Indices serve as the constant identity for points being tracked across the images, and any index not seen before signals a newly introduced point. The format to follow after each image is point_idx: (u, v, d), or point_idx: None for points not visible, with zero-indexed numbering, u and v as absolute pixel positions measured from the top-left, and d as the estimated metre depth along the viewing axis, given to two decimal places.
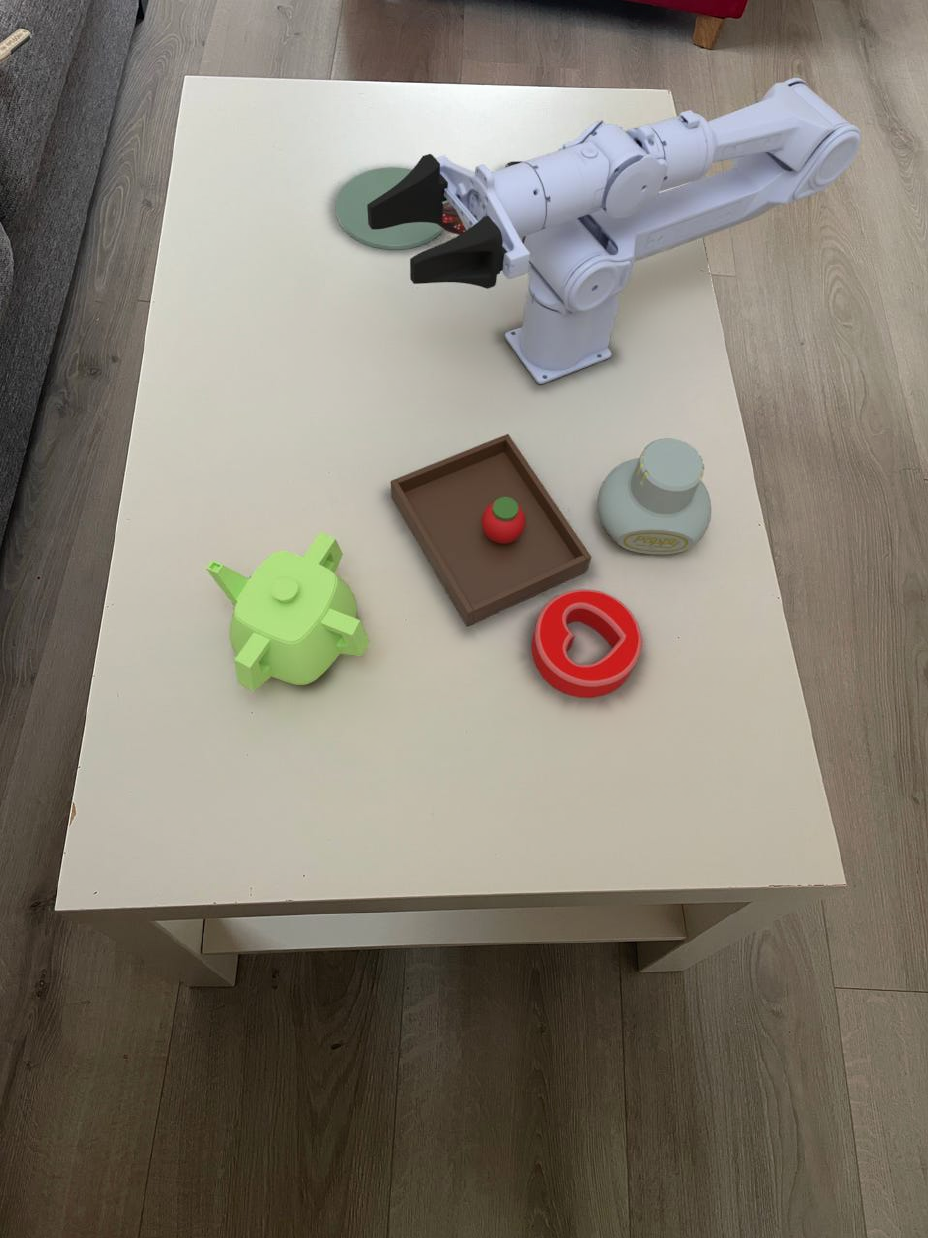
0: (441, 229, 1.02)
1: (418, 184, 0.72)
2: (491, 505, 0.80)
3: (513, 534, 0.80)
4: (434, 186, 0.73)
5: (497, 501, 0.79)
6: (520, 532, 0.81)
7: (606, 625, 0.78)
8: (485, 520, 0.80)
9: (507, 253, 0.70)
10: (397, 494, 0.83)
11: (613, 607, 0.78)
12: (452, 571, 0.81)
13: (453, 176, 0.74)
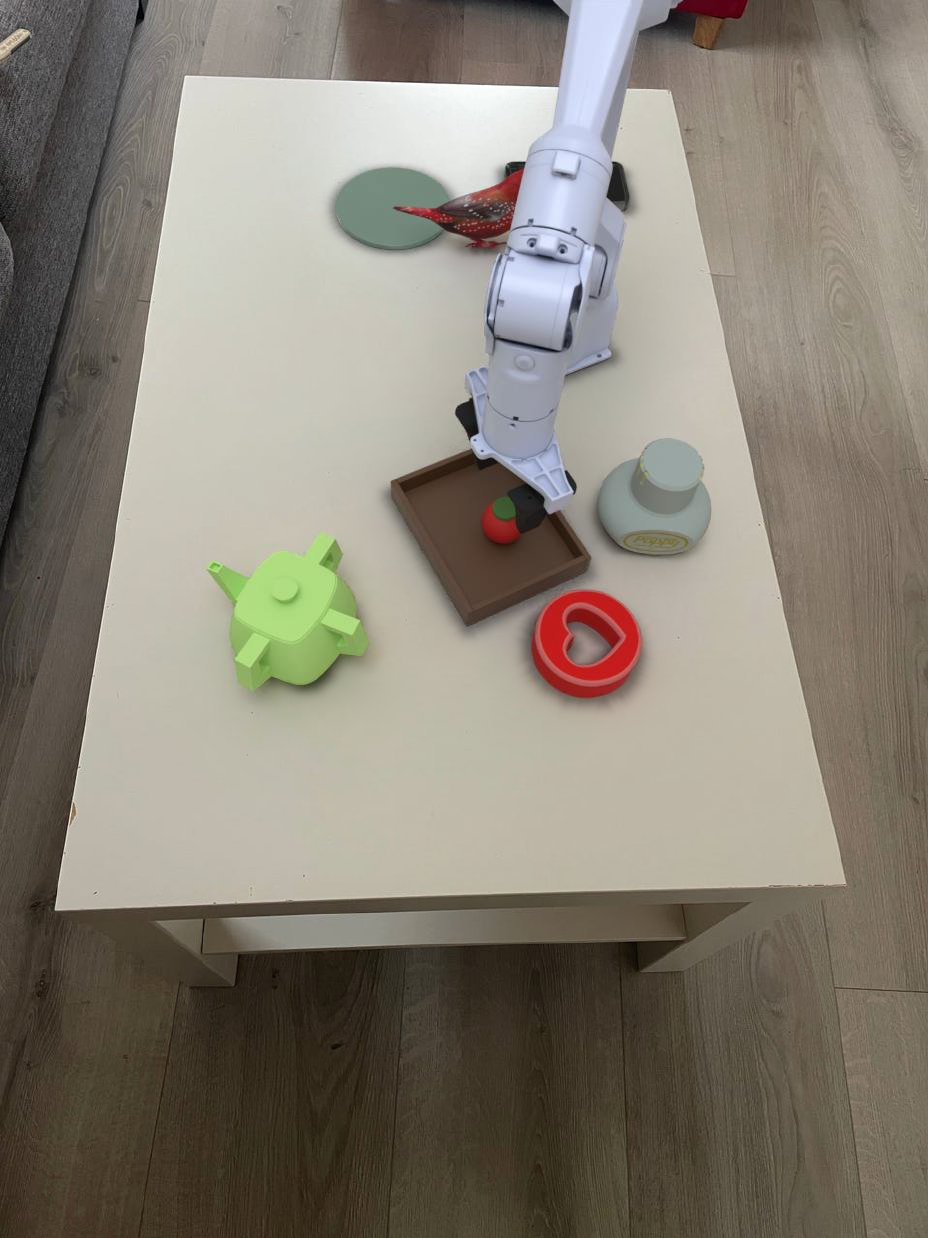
0: (441, 229, 1.02)
1: None
2: (491, 505, 0.80)
3: (513, 534, 0.80)
4: None
5: (497, 501, 0.79)
6: None
7: (606, 625, 0.78)
8: (485, 520, 0.80)
9: (544, 505, 0.68)
10: (397, 494, 0.83)
11: (613, 607, 0.78)
12: (452, 571, 0.81)
13: None
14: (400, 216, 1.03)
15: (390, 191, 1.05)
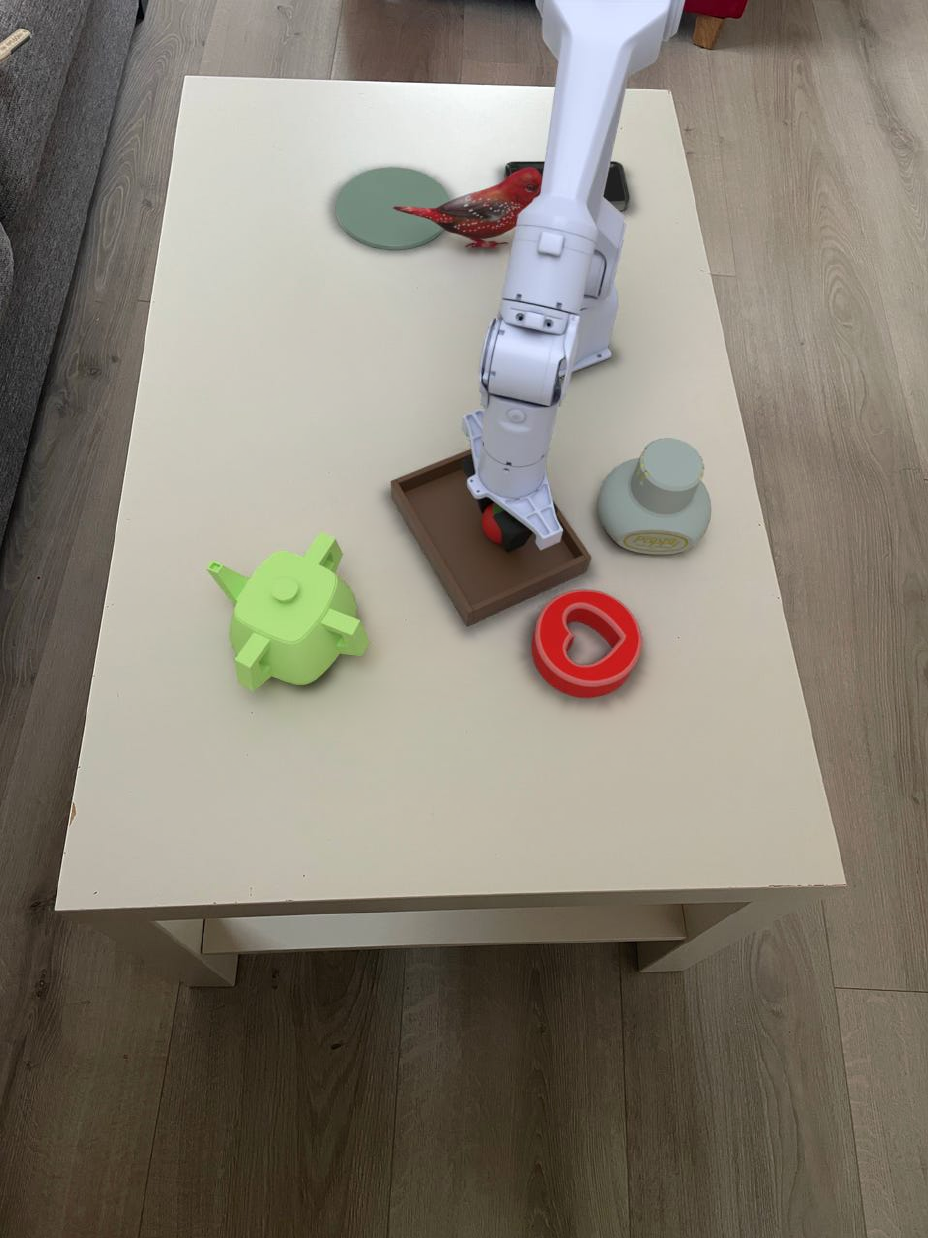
0: (441, 229, 1.02)
1: None
2: (491, 505, 0.80)
3: None
4: None
5: None
6: None
7: (606, 625, 0.78)
8: (485, 520, 0.80)
9: (536, 542, 0.73)
10: (397, 494, 0.83)
11: (613, 607, 0.78)
12: (452, 571, 0.81)
13: None
14: (400, 216, 1.03)
15: (390, 191, 1.05)
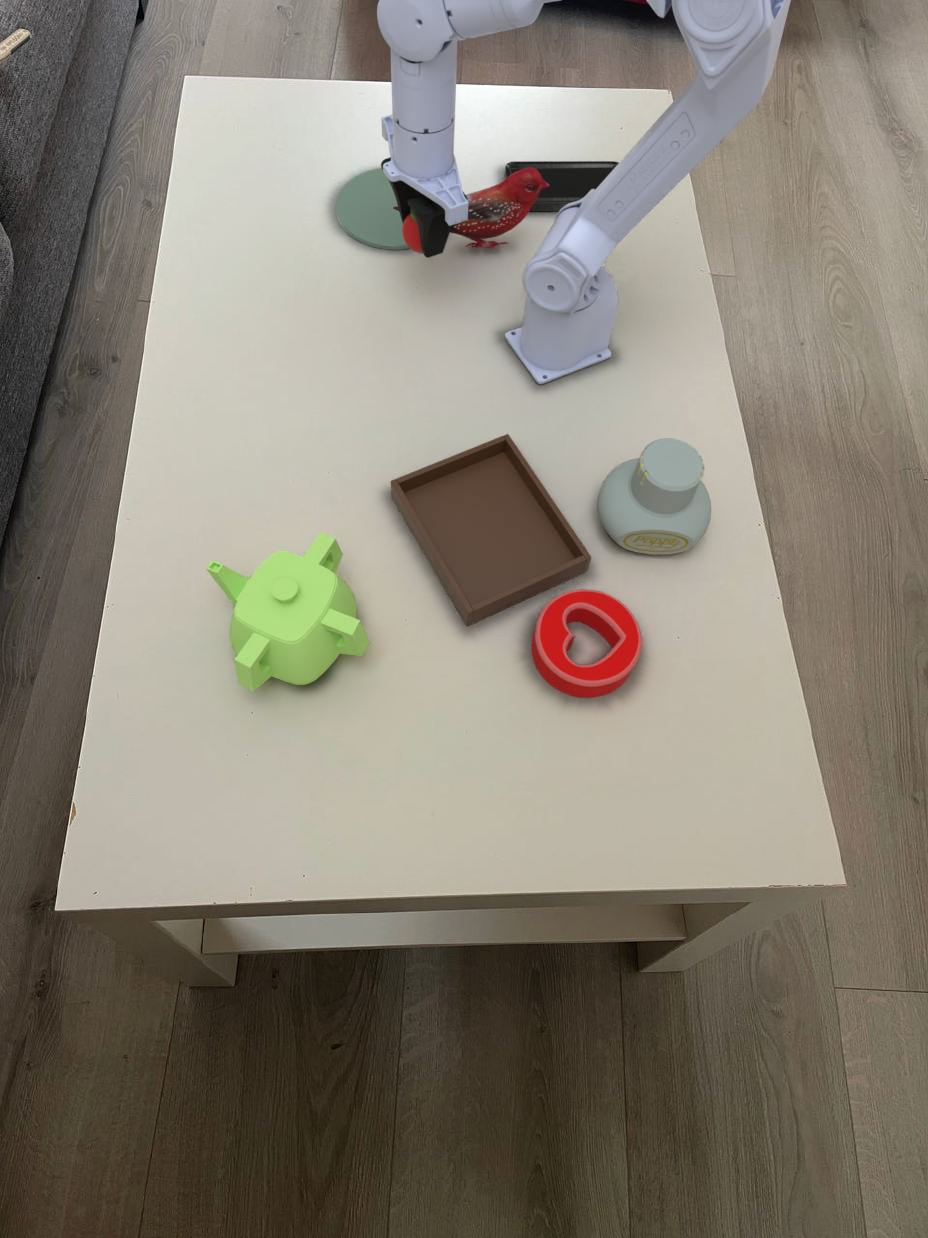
0: None
1: (399, 192, 0.86)
2: (410, 213, 0.88)
3: None
4: None
5: None
6: None
7: (606, 625, 0.78)
8: (405, 226, 0.88)
9: (445, 219, 0.81)
10: (397, 494, 0.83)
11: (613, 607, 0.78)
12: (452, 571, 0.81)
13: None
14: (400, 216, 1.03)
15: (390, 191, 1.05)
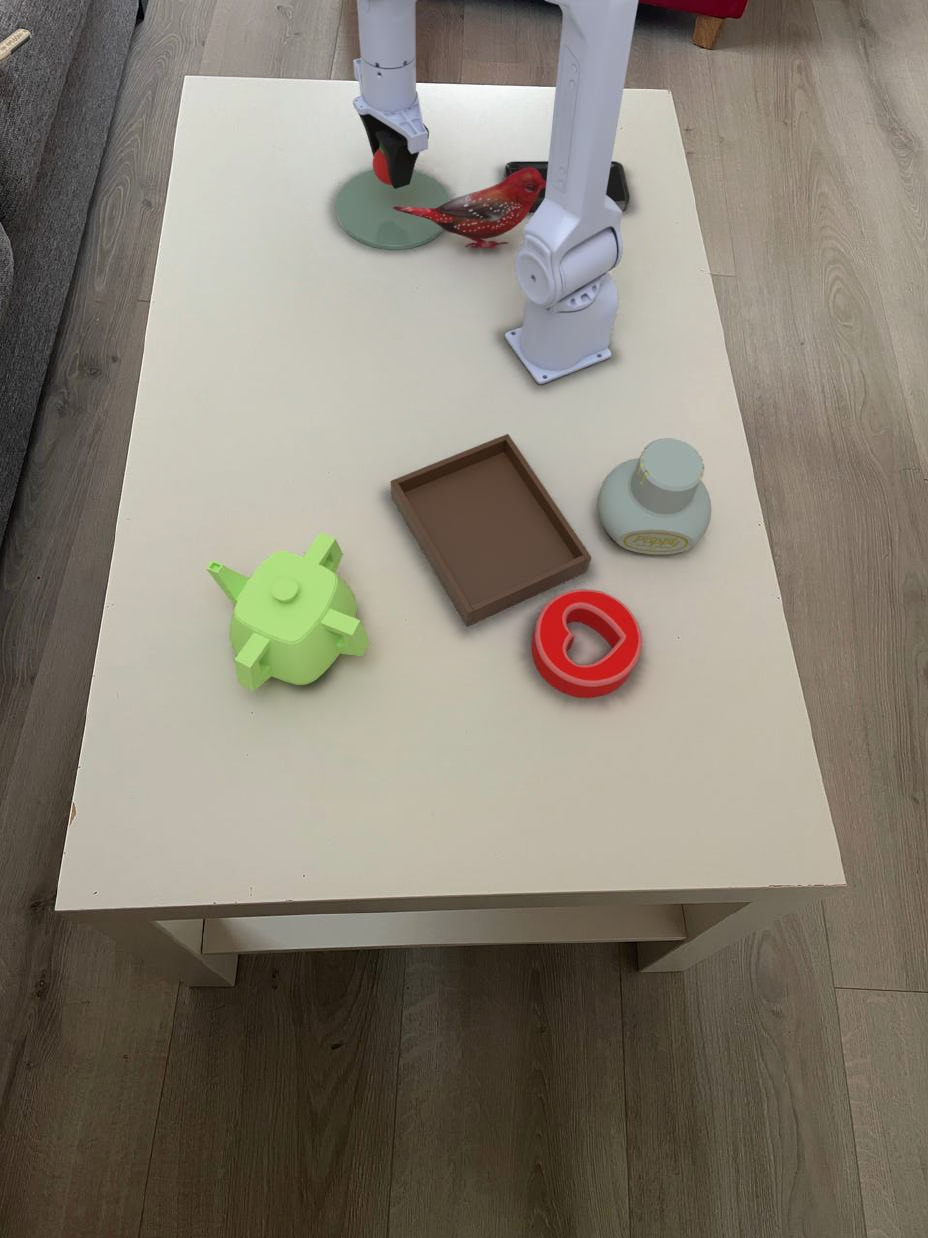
0: (441, 229, 1.02)
1: (370, 128, 0.96)
2: None
3: None
4: None
5: None
6: None
7: (606, 625, 0.78)
8: (374, 159, 0.98)
9: (408, 147, 0.91)
10: (397, 494, 0.83)
11: (613, 607, 0.78)
12: (452, 571, 0.81)
13: None
14: (400, 216, 1.03)
15: (390, 191, 1.05)
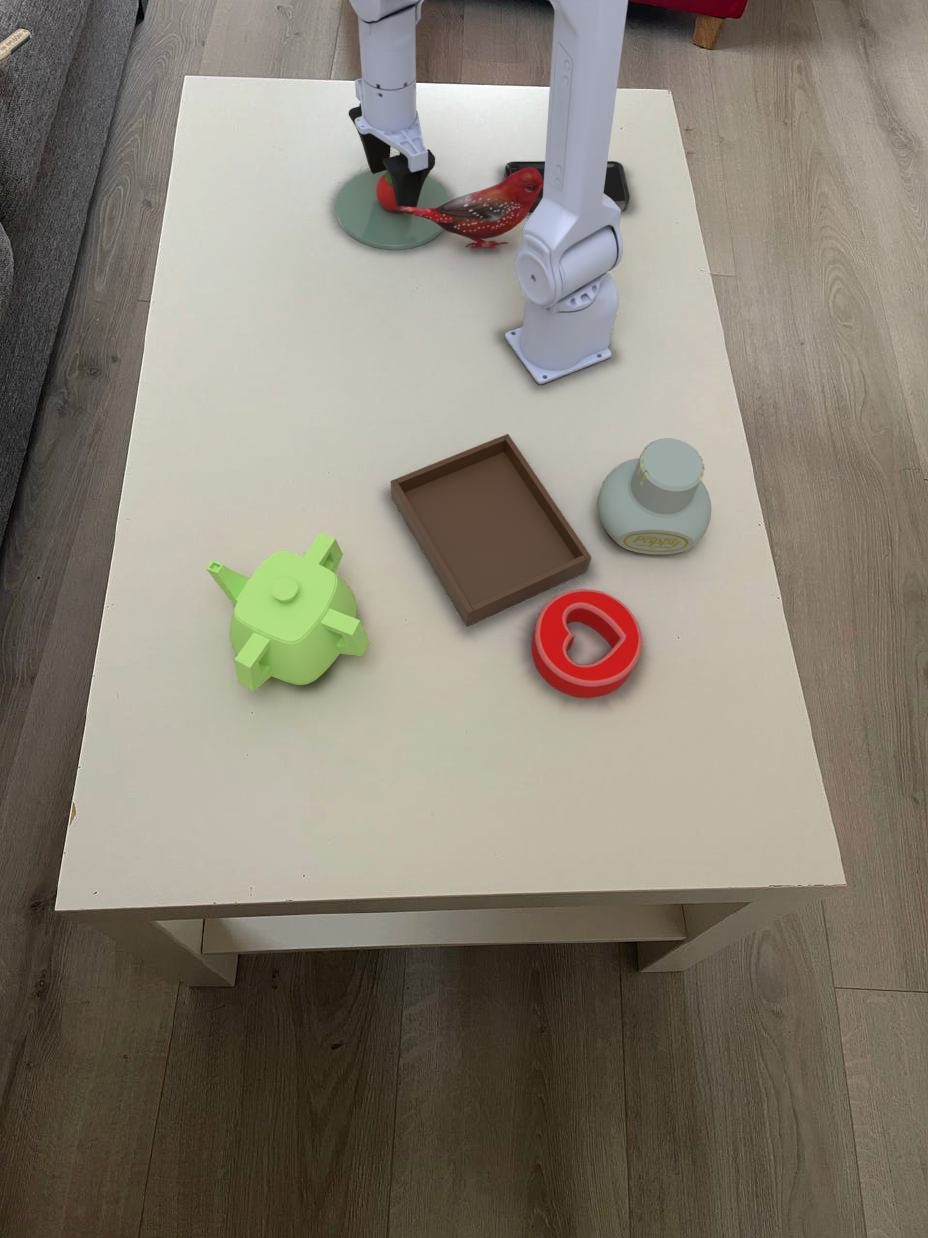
0: (441, 229, 1.02)
1: (365, 138, 0.99)
2: (384, 174, 1.00)
3: None
4: None
5: None
6: None
7: (606, 625, 0.78)
8: (379, 186, 1.00)
9: (408, 166, 0.92)
10: (397, 494, 0.83)
11: (613, 607, 0.78)
12: (452, 571, 0.81)
13: None
14: (400, 216, 1.03)
15: None
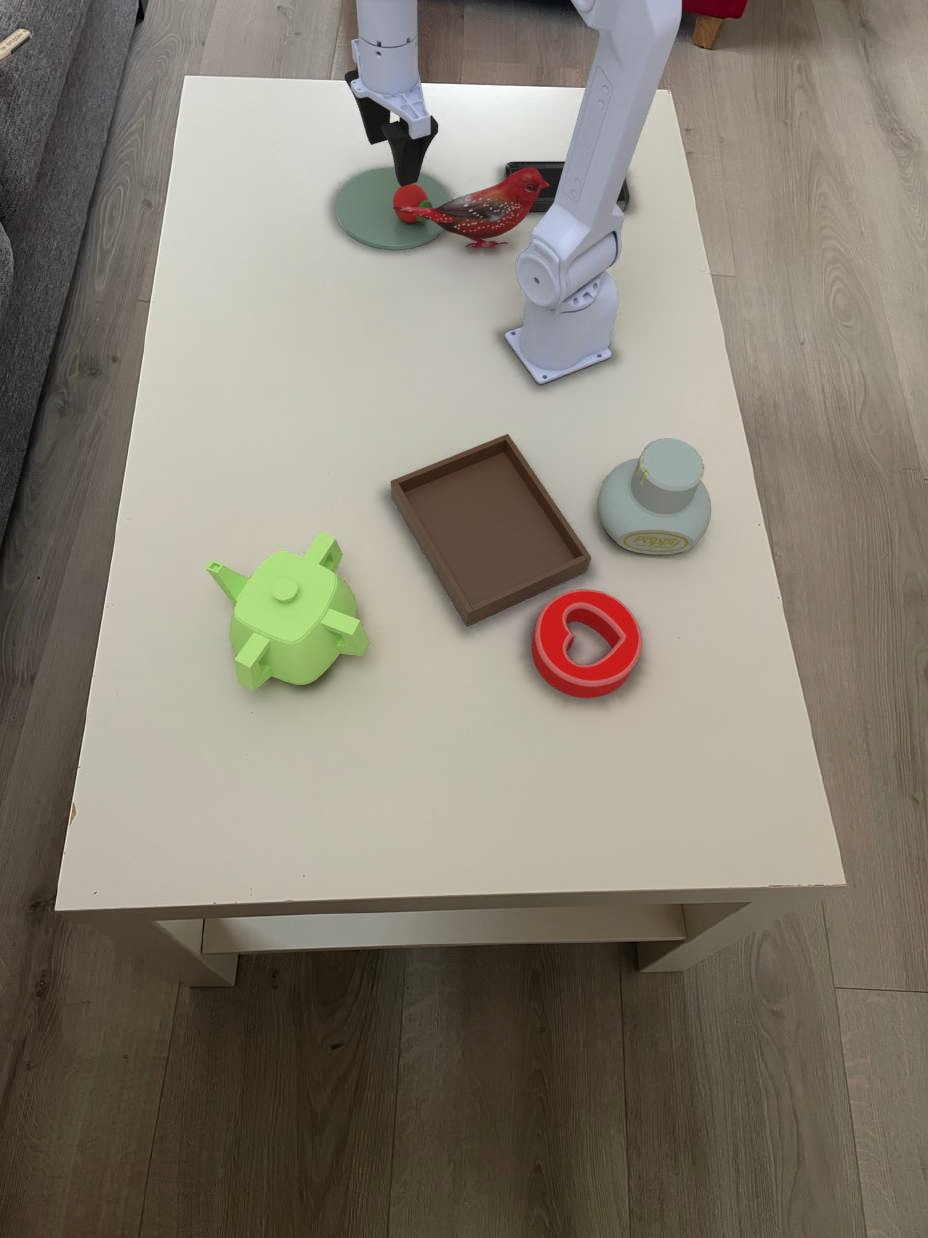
0: (441, 229, 1.02)
1: (362, 104, 0.91)
2: (417, 197, 0.99)
3: None
4: None
5: (425, 204, 0.99)
6: None
7: (606, 625, 0.78)
8: (406, 205, 0.99)
9: (409, 133, 0.85)
10: (397, 494, 0.83)
11: (613, 607, 0.78)
12: (452, 571, 0.81)
13: None
14: None
15: (390, 191, 1.05)
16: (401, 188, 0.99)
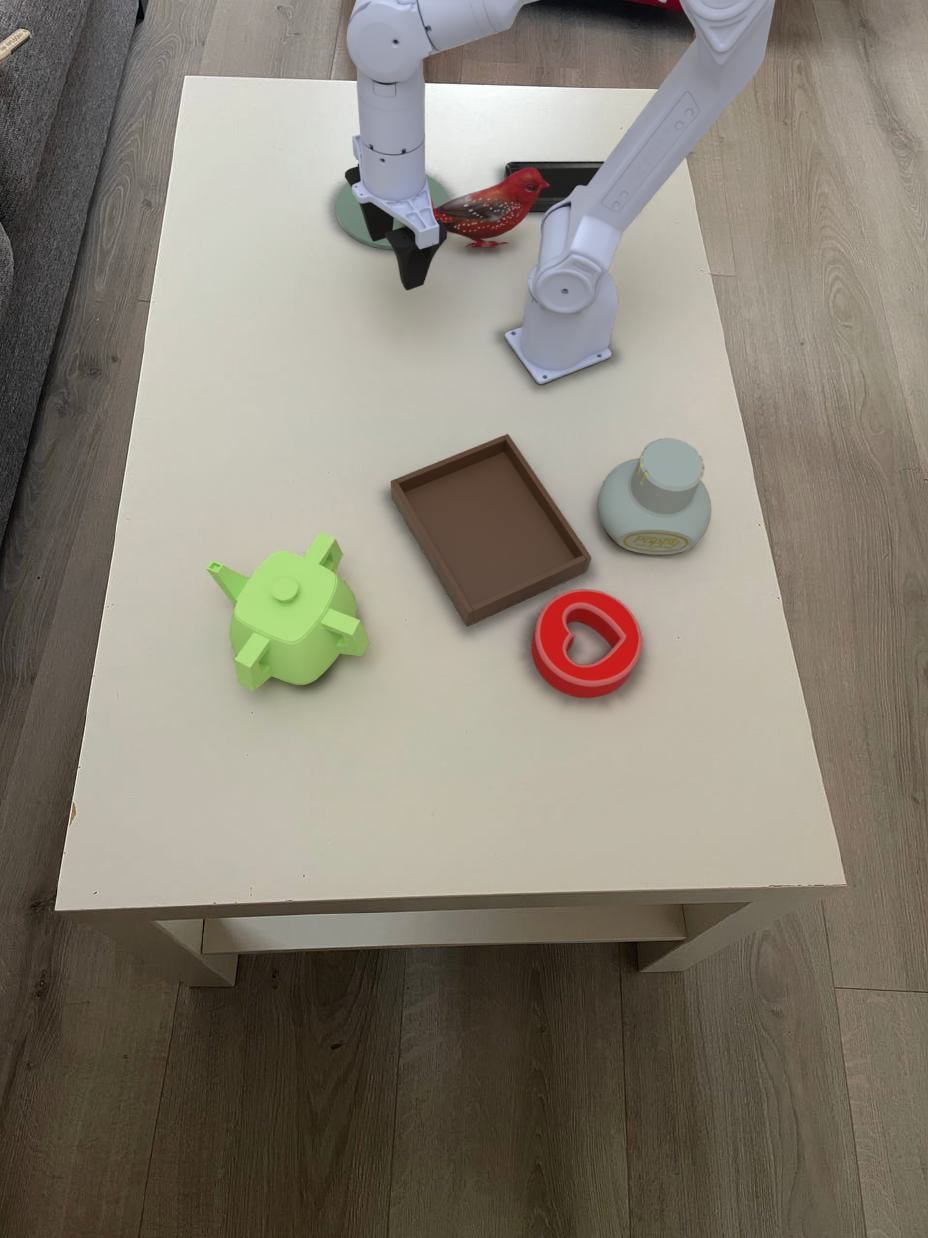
0: None
1: (364, 203, 0.84)
2: None
3: None
4: None
5: None
6: None
7: (606, 625, 0.78)
8: None
9: (416, 242, 0.78)
10: (397, 494, 0.83)
11: (613, 607, 0.77)
12: (452, 571, 0.81)
13: None
14: None
15: None
16: None
